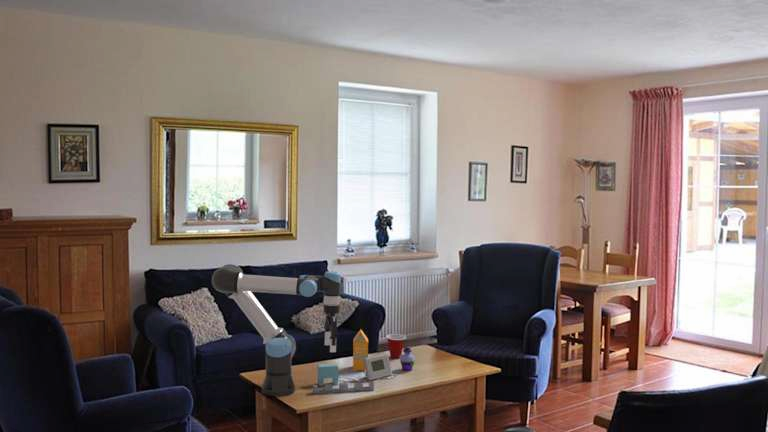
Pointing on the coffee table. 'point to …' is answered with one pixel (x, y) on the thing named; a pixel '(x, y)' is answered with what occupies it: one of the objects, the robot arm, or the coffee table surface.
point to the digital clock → (377, 366)
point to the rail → (343, 388)
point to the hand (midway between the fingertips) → (330, 348)
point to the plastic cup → (395, 345)
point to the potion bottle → (407, 359)
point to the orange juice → (360, 350)
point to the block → (327, 373)
